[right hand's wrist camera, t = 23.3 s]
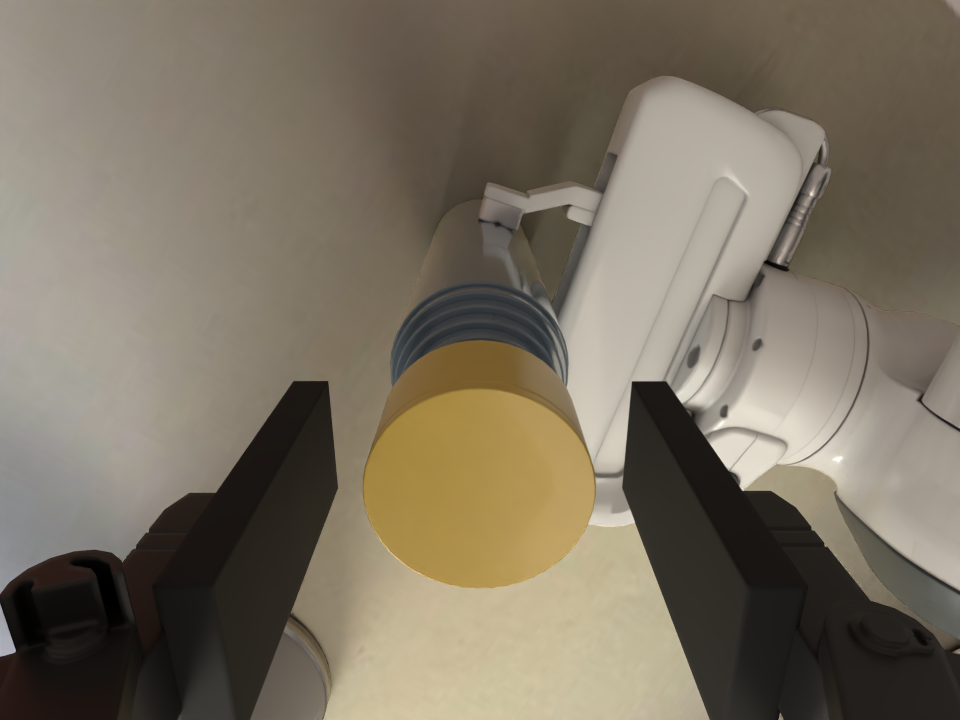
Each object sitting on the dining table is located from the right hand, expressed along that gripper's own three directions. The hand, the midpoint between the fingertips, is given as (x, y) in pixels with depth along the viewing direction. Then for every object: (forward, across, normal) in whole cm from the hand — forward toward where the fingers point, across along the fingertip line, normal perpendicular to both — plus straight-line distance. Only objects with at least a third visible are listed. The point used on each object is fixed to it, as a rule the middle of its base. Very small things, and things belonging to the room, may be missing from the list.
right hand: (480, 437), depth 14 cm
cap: (0, 0, 0) cm, 0 cm away
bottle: (+22, 0, 0) cm, 22 cm away
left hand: (+15, -1, 0) cm, 15 cm away
